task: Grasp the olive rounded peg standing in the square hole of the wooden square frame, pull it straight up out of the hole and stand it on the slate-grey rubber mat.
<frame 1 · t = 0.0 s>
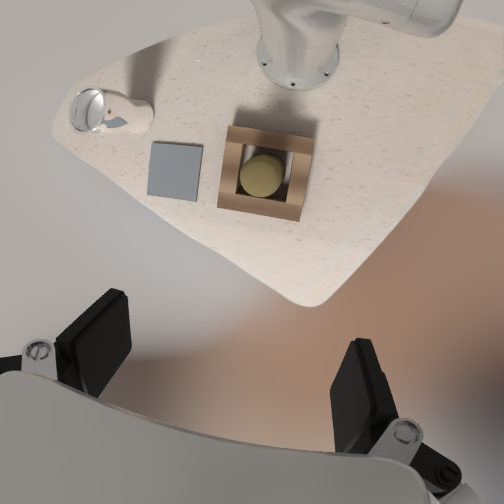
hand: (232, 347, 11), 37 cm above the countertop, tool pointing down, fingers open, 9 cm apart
beer glass: (139, 116, 43), on the countertop
wooden square frame: (265, 171, 44), on the countertop
rubber mat: (174, 171, 46), on the countertop
olive rounded peg: (266, 171, 44), resting in wooden square frame
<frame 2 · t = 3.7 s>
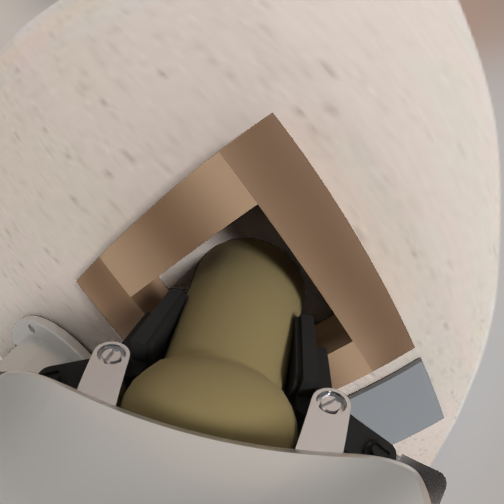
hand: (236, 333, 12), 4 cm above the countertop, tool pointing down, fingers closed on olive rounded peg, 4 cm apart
wooden square frame: (247, 292, 16), on the countertop
rubber mat: (383, 417, 18), on the countertop
olive rounded peg: (248, 290, 16), resting in wooden square frame, touching gripper
when the fingers open (5 cm above the countertop, at t = 9.6 s): olive rounded peg stays where it is, resting on rubber mat.
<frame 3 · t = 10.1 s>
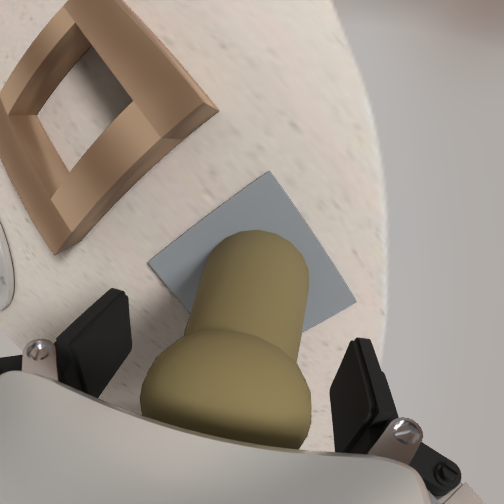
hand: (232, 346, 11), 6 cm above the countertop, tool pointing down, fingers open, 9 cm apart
wooden square frame: (86, 109, 15), on the countertop
rubber mat: (251, 280, 17), on the countertop
olive rounded peg: (256, 279, 17), resting on rubber mat
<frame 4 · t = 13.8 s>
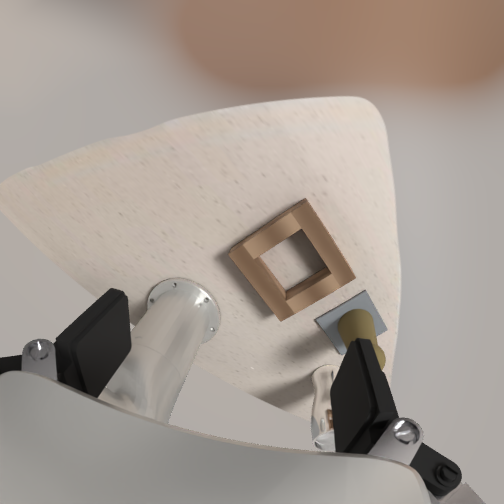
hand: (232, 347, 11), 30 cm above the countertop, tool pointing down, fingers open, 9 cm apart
beer glass: (327, 375, 49), on the countertop
wooden square frame: (293, 258, 42), on the countertop
rubber mat: (353, 324, 44), on the countertop
olive rounded peg: (355, 324, 44), resting on rubber mat
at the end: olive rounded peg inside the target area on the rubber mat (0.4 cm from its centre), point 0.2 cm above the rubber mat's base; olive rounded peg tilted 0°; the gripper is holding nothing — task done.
